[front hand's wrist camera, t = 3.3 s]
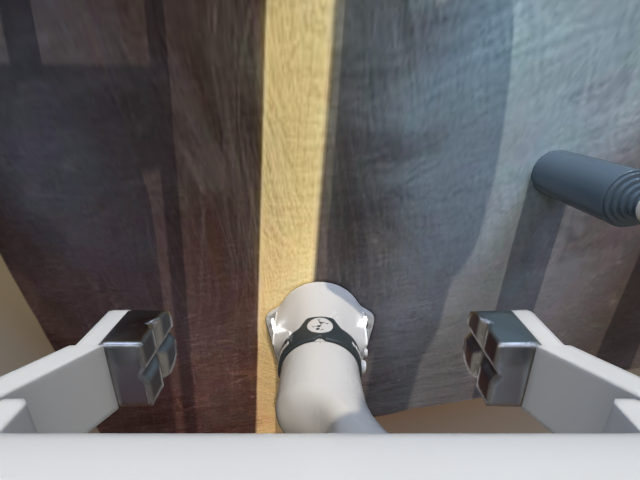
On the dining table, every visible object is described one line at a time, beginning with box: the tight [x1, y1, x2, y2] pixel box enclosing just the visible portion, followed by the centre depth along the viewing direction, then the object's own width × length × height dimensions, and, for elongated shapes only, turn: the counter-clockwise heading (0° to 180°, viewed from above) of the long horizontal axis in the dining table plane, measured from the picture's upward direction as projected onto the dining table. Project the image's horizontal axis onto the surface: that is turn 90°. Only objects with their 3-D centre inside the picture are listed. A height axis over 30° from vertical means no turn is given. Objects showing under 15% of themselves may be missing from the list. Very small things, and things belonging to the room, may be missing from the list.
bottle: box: [532, 150, 640, 227], centre depth 48 cm, size 7×7×20 cm
